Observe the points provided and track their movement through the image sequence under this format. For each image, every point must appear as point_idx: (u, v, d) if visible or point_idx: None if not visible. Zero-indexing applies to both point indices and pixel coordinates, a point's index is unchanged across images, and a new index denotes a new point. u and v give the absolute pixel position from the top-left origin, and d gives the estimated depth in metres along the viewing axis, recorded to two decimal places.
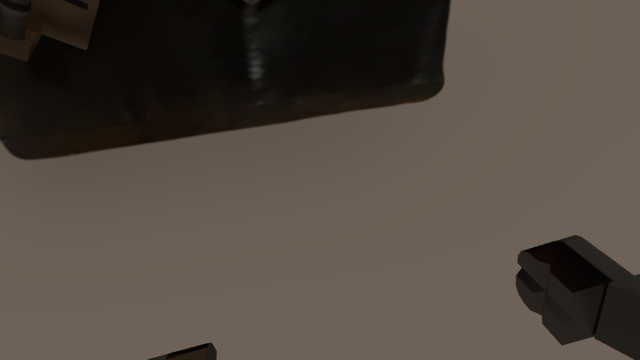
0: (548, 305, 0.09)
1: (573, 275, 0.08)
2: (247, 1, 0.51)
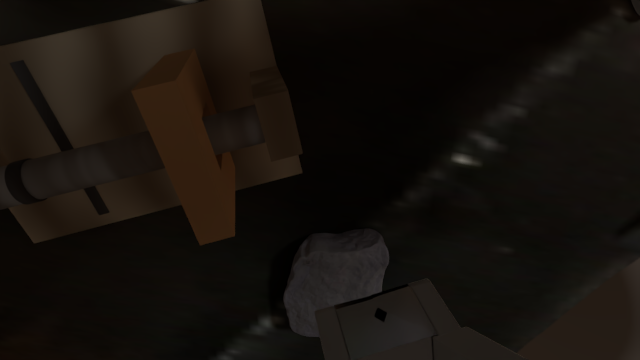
0: None
1: (403, 326, 0.08)
2: (292, 325, 0.39)
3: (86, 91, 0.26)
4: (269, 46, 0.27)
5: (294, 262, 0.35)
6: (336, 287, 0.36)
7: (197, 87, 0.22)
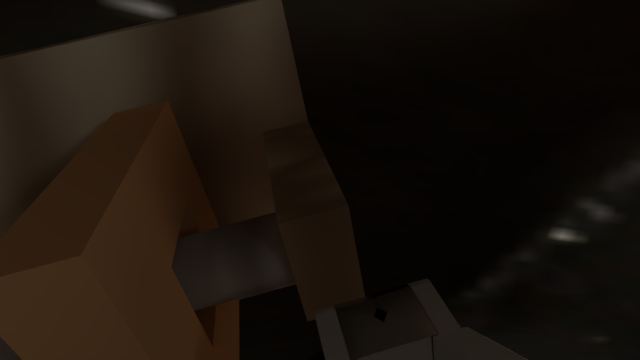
0: None
1: (404, 326, 0.08)
2: None
3: None
4: (297, 90, 0.16)
5: None
6: None
7: (166, 190, 0.11)
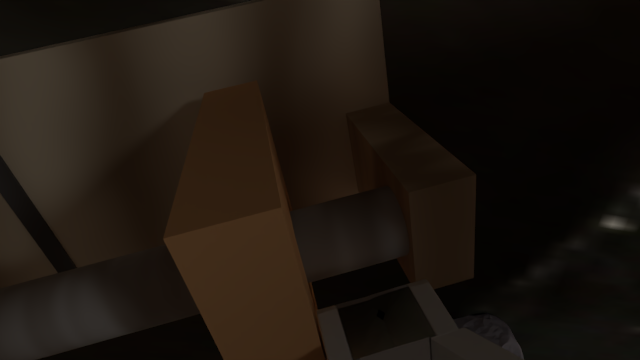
0: None
1: (402, 327, 0.08)
2: None
3: (76, 149, 0.15)
4: (382, 72, 0.16)
5: None
6: None
7: (277, 164, 0.11)
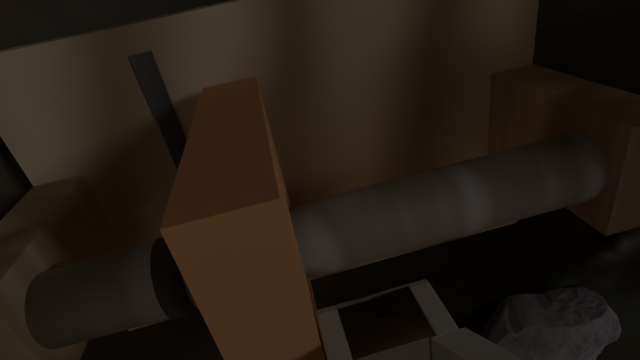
0: None
1: (401, 327, 0.08)
2: None
3: None
4: (532, 32, 0.16)
5: (496, 340, 0.25)
6: None
7: (276, 159, 0.11)
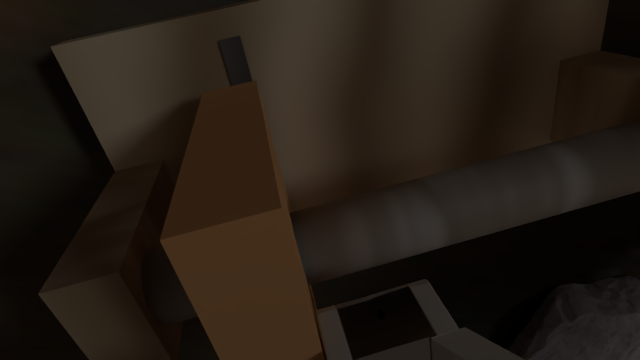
0: None
1: (402, 327, 0.08)
2: None
3: (322, 90, 0.16)
4: (602, 19, 0.17)
5: (550, 328, 0.25)
6: (595, 358, 0.27)
7: (277, 164, 0.11)
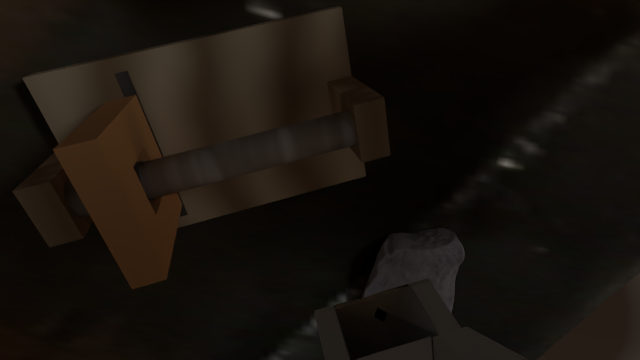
0: None
1: (404, 326, 0.08)
2: None
3: (180, 100, 0.28)
4: (346, 58, 0.29)
5: (378, 260, 0.38)
6: None
7: (132, 135, 0.23)
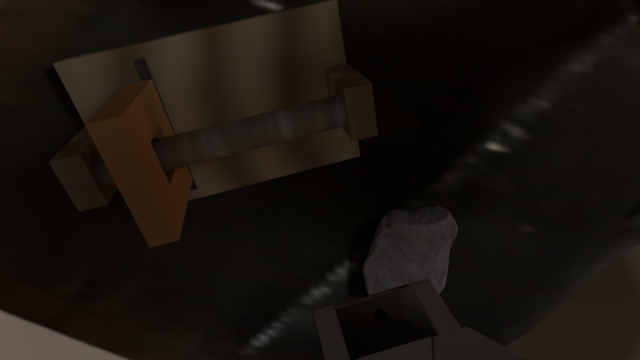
0: None
1: (403, 326, 0.08)
2: (370, 292, 0.45)
3: (191, 84, 0.31)
4: (341, 47, 0.32)
5: (377, 235, 0.41)
6: (411, 256, 0.42)
7: (149, 115, 0.26)
